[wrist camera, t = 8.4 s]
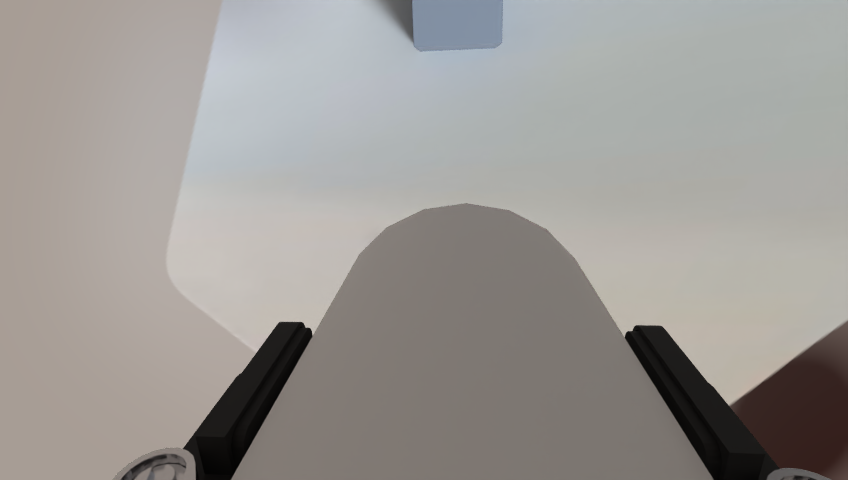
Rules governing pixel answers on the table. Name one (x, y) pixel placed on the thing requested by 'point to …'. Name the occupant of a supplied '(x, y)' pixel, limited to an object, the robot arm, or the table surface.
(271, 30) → the table surface
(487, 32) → the slate block
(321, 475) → the can
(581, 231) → the table surface
